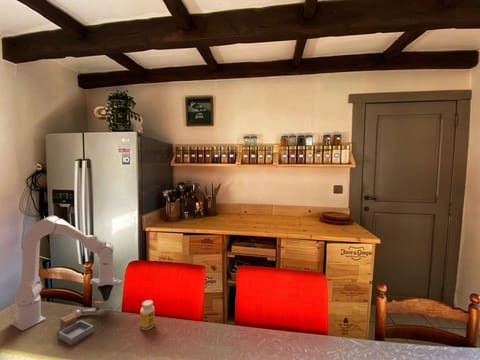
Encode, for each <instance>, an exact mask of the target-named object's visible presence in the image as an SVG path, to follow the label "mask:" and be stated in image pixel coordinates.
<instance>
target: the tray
mask: <svg viewBox="0 0 480 360" xmlns="http://www.w3.org/2000/svg"><path fill="white" fill-rule="evenodd" d="M93 333H94V325H92V324H90V323H88V322H87V321H84V320H81V319H80V320H78V321H77V322H76V323H74V324H73V325H71V326H69V327H67V328H65V329H63V330H60V331H58V340H60V341H62V342H64V343H66V344H68V345H69V346H71V347H72V346H73V345H75V344H76V343H78V342H80V341H82V340H83V339H85V338H86V337H88V336H89V335H91V334H93Z"/></svg>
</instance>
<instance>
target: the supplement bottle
mask: <svg viewBox="0 0 480 360" xmlns="http://www.w3.org/2000/svg"><path fill="white" fill-rule="evenodd" d="M141 306H142V307H140V312H139V313H140V315H139V327H140V329H141V330H143V331H148V330H150V329H152V328H153V327H154V326H155V306H154V302H153V300H151V299H149V300H148V299H146V300H145V301H143V302H142V304H141Z"/></svg>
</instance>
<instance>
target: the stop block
mask: <svg viewBox="0 0 480 360" xmlns="http://www.w3.org/2000/svg"><path fill="white" fill-rule="evenodd" d="M77 319H78V318H77V316H75V315H74V314H72V312H71V313H69V314H66V315H65V316H62V317H60V318H59V329H60V331H62V330H63V329H65V328H67V327H69V326H71V325H73V324H74V323H76V322H78V321H77Z"/></svg>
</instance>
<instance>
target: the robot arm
mask: <svg viewBox="0 0 480 360" xmlns="http://www.w3.org/2000/svg"><path fill="white" fill-rule="evenodd" d="M51 233H53V235H58V234H59V235H60V234H64V235H66V236H69V237H70V238H72V239H74V240H76V241H79V242H80V243H81V245H82V247H83V248H84V249H86V250H88V251H90V252H92V253H94V254H97V257H98V259H99V260H98V278H95V277H94V278H93V277H92V279H90V280H89V281H90V282H89V283H90V285H98V286H97V290H98V291H99V292H100V294H101V296H102V301H103V302H107V301H108V300H109V299H110V296H111V293H112V290H113V288H114V286H117V287H121V286H122V285H123V280H122V279H118V278H116V277H114V255H113V254H114V250H115V249H114V248H115V247H114V245H113V244H111V242H107V241H103V240H101V239H100V238H98V235H93V234H91V235H87V234H85V233H84V232H83V231H81V230H79V229H78V228H76V227H75V226H73V225H71V224H70V223H69V222H68V221H66V220H64V218H60V217H58V216H57V215H49V216H47V217H45V218H43V219H40V220H38V221H37V222H35V223H34V224H33V225H32V226H31V228H30V229H29V230H28V231H27V232H26V233H25V234H24V235H23V242H22V260H21V261H22V262H21V263H22V264H21V280H20V283H19V284H18V287H17V293H16V294H15V295H14V298H13V300H14V301H13V302H14V306H13V321H11V322H10V325H12V326H14V327H15V328H17V329H18V330H19V331H20V330H21V331H25V330H26V329H29V328H31V327H32V326H35V325H37V324H39V323H42V322H43V321H45V320H46V317H44V316H43V315H42V303H41V302H42V301H41V295H40V293H41V291H43V290H42V289H43V283H42V282H41V277H40V276H39V270H40V267H39V266H40V248H41V239H42V238H43V237H45V236H47V235H50V234H51Z"/></svg>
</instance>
